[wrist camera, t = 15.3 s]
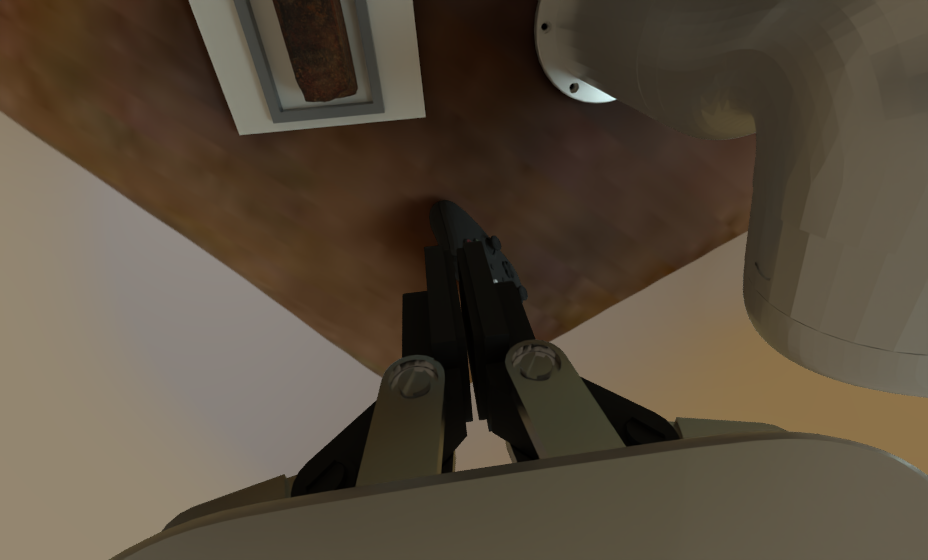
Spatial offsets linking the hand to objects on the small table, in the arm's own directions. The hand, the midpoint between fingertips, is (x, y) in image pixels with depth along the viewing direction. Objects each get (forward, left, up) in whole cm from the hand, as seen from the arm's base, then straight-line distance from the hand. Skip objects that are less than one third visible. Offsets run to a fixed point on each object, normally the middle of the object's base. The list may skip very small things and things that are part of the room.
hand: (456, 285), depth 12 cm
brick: (+7, -6, -28) cm, 30 cm away
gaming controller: (-4, +16, -29) cm, 34 cm away
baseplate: (+8, -6, -29) cm, 31 cm away
